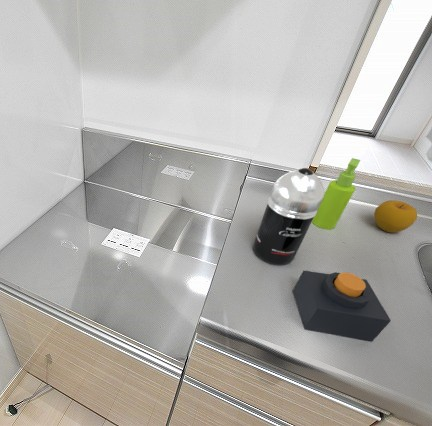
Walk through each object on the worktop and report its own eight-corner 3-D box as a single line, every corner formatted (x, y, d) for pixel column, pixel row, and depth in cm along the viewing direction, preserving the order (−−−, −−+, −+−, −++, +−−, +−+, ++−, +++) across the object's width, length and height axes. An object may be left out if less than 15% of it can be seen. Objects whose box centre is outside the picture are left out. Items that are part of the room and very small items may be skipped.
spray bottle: (247, 239, 82) (274, 157, 68) (286, 242, 81) (322, 159, 66) (256, 265, 74) (289, 179, 59) (300, 269, 73) (344, 182, 58)
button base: (351, 300, 65) (371, 272, 60) (372, 342, 57) (397, 314, 52) (292, 291, 67) (306, 263, 62) (304, 329, 60) (322, 301, 54)
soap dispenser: (337, 221, 88) (370, 160, 76) (332, 232, 84) (366, 169, 72) (315, 213, 91) (344, 154, 80) (309, 223, 87) (338, 162, 76)
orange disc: (355, 281, 59) (359, 274, 57) (364, 299, 55) (370, 291, 54) (330, 277, 59) (334, 270, 58) (338, 294, 56) (343, 287, 55)
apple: (362, 227, 85) (377, 202, 80) (373, 216, 90) (388, 192, 84) (398, 242, 80) (417, 216, 75) (408, 230, 84) (427, 205, 79)
